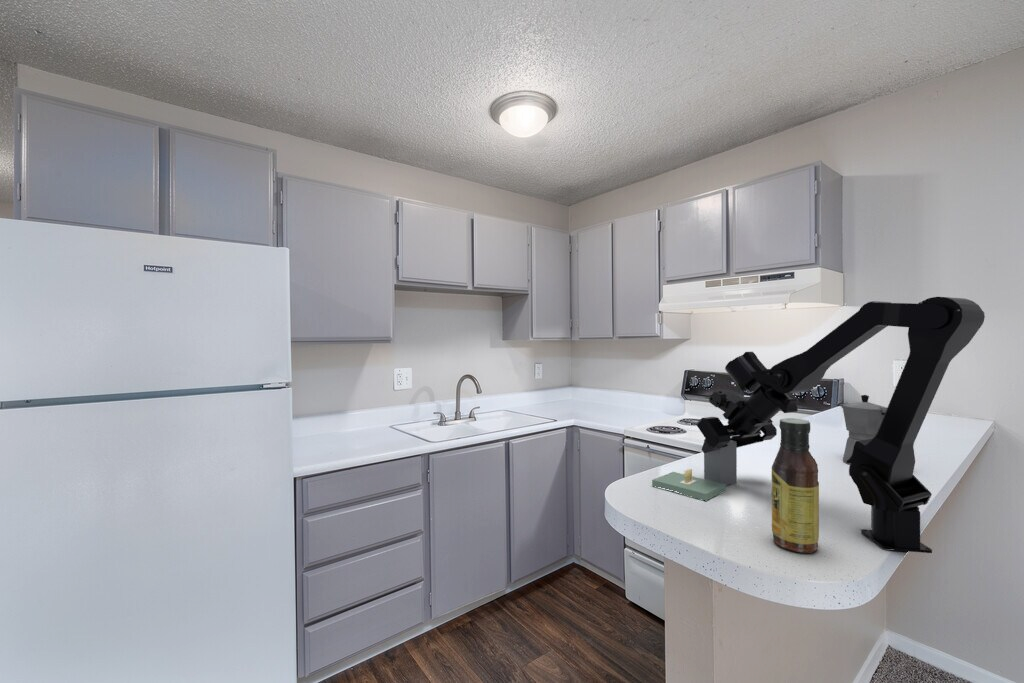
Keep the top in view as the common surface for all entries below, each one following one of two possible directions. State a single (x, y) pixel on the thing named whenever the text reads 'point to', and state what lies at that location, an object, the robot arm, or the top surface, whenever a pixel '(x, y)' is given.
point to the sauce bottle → (795, 489)
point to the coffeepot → (861, 422)
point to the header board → (689, 485)
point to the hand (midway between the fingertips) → (715, 449)
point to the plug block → (722, 464)
